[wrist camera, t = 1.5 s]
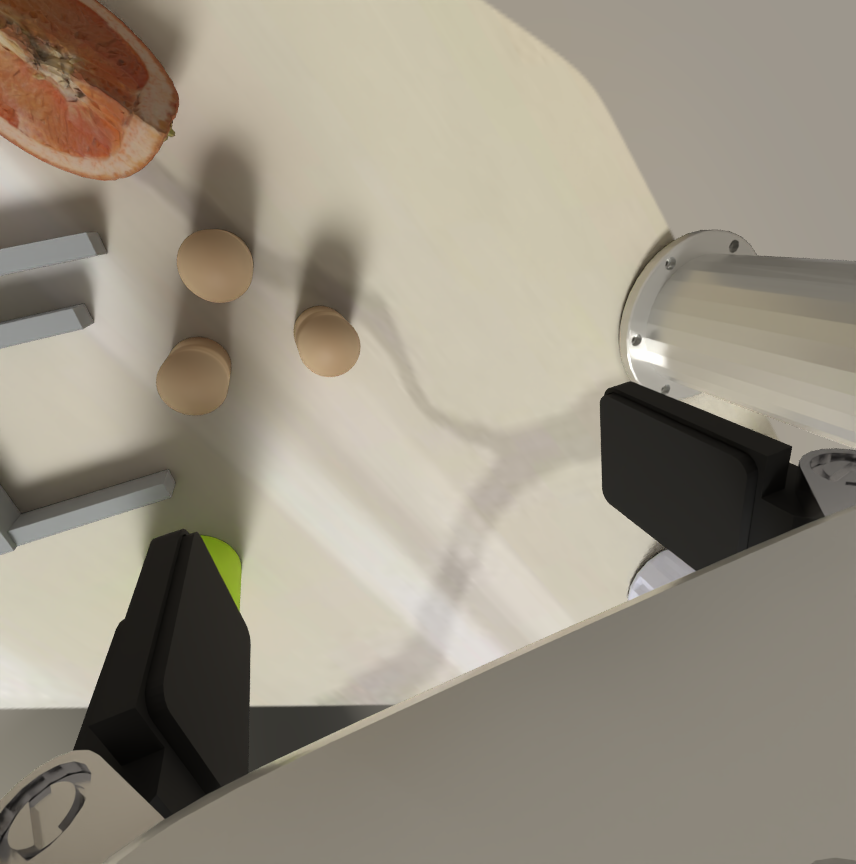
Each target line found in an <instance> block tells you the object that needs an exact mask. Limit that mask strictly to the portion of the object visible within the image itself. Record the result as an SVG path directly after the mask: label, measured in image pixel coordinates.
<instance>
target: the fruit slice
mask: <svg viewBox="0 0 856 864" xmlns="http://www.w3.org/2000/svg"><path fill="white" fill-rule="evenodd" d="M178 107H179V96H178V93H177V91H176V89H175V87H174V84H173V81H172V80H171V79H170V77H169V76H168V74H167V73H166V71H165V69H164V68H163V66H162V65H161V64H160V62H159V61H158V60H157V59H156V57H155V56H154V55H153V53H152V52H151V51H150V50H149V49H148V48H147V46H146V45H145V44H144V43H143V42H142V41H141V40H140V39H139V38H138V37H137V36H136V35H135V34H134V33H133V32H132V31H131V30H130V29H129V28H128V27H127V26H126V25H125V24H124V23H123V22H122V21H121V20H120V19H119V18H117V17H116V16H115V15H114V14H113V13H111V12H110V11H109V10H108V9H106V8H105V7H104V6H103V5H101V4H100V3H99V2H98V1H96V0H0V135H1V136H3V137H4V138H5V139H7V140H8V141H10V142H11V143H13V144H14V145H16V146H18V147H19V148H21V149H22V150H24V151H26V152H27V153H29V154H31V155H33V156H35V157H36V158H38V159H40V160H42V161H44V162H46V163H48V164H50V165H53V166H55V167H57V168H60V169H62V170H65V171H67V172H70V173H73V174H76V175H79V176H81V177H86V178H91V179H96V180H104V181H106V180H117V179H119V178H125V177H129V176H131V175H133V174H134V173H136V172H138V171H140V170H141V169H143V168H144V167H145V166H146V165H147V164H148V163H149V162H150V161H151V160H152V159H153V157H154V156H155V155H156V154H157V153H158V151H159V149H160V147H161V146H162V144H163V142H164V141H166V140H167V139H168V136H170V137H173V136H175V132H174V131H173V130H172V129H171V128H172V123H173V119H175V118H176V113H177V112H178Z"/></svg>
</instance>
